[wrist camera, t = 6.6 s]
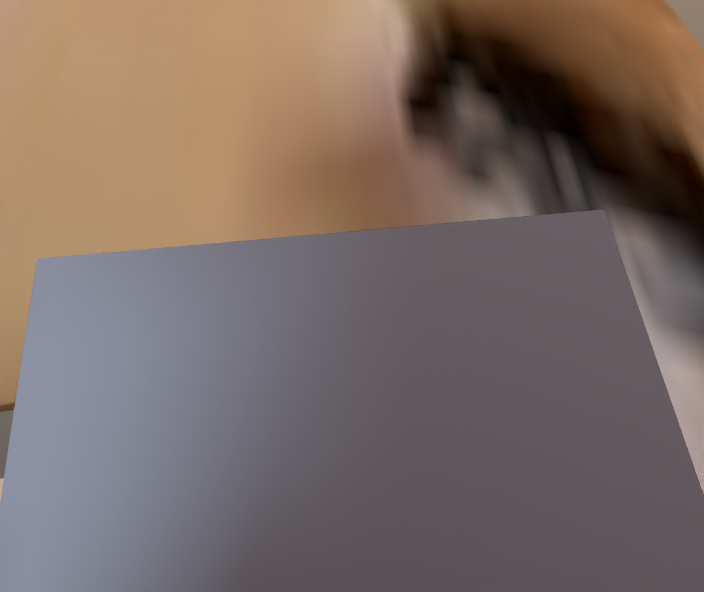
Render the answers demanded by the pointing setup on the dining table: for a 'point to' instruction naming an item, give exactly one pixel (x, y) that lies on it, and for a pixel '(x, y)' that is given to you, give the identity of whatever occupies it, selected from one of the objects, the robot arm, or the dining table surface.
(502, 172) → the dining table surface
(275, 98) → the dining table surface
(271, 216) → the dining table surface
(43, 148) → the dining table surface
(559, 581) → the grey-blue tall block
